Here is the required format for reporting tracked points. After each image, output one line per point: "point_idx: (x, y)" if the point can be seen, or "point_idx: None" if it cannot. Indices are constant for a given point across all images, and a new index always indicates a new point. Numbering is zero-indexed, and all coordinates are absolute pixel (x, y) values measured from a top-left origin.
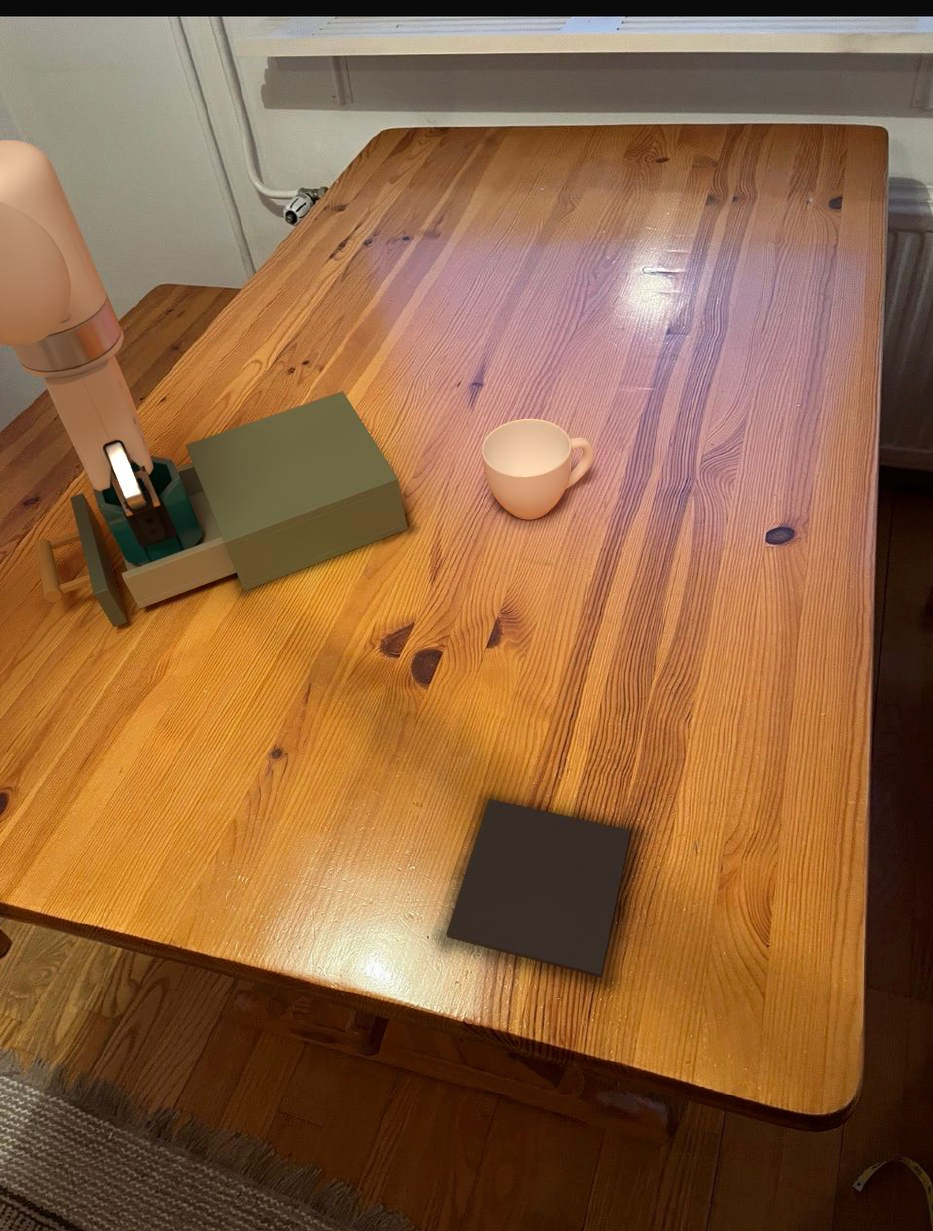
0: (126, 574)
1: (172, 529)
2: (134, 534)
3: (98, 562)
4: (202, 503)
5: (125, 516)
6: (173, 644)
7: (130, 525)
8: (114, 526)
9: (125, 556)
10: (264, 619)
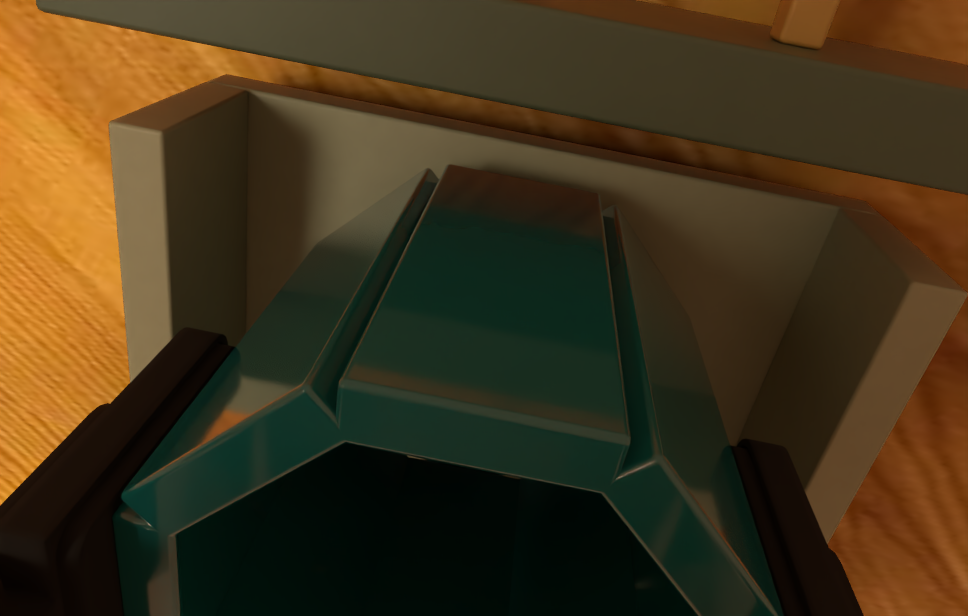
0: (133, 152)
1: None
2: (130, 386)
3: (306, 48)
4: None
5: (18, 506)
6: (57, 103)
7: (74, 443)
8: (315, 314)
9: (417, 183)
10: (51, 389)
